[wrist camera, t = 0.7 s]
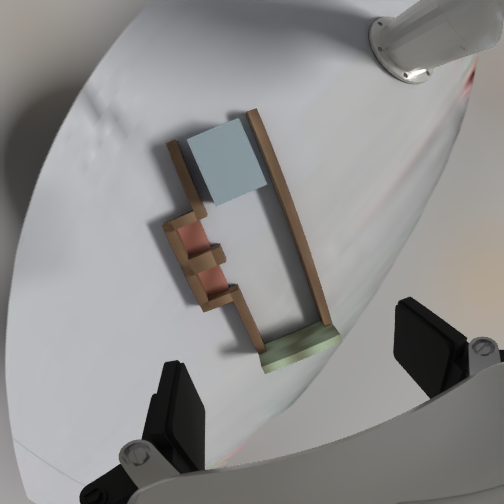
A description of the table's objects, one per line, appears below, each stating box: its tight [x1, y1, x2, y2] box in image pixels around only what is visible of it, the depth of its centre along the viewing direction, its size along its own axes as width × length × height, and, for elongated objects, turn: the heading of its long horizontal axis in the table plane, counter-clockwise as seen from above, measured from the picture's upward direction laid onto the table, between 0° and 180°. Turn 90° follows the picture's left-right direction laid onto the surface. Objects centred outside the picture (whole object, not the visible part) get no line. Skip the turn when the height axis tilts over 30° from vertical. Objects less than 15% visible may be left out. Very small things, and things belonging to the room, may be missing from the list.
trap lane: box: [162, 108, 342, 374], centre depth 34 cm, size 16×32×5 cm, turn 21°
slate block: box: [187, 118, 267, 206], centre depth 31 cm, size 6×8×5 cm
